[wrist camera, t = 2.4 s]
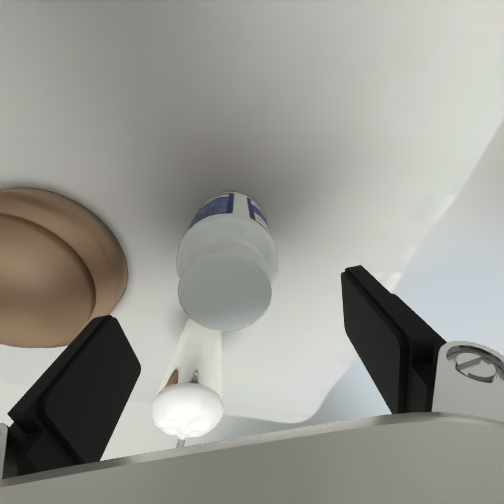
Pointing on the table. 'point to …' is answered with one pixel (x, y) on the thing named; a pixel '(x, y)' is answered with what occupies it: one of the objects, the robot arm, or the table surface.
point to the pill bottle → (227, 263)
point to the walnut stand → (54, 269)
